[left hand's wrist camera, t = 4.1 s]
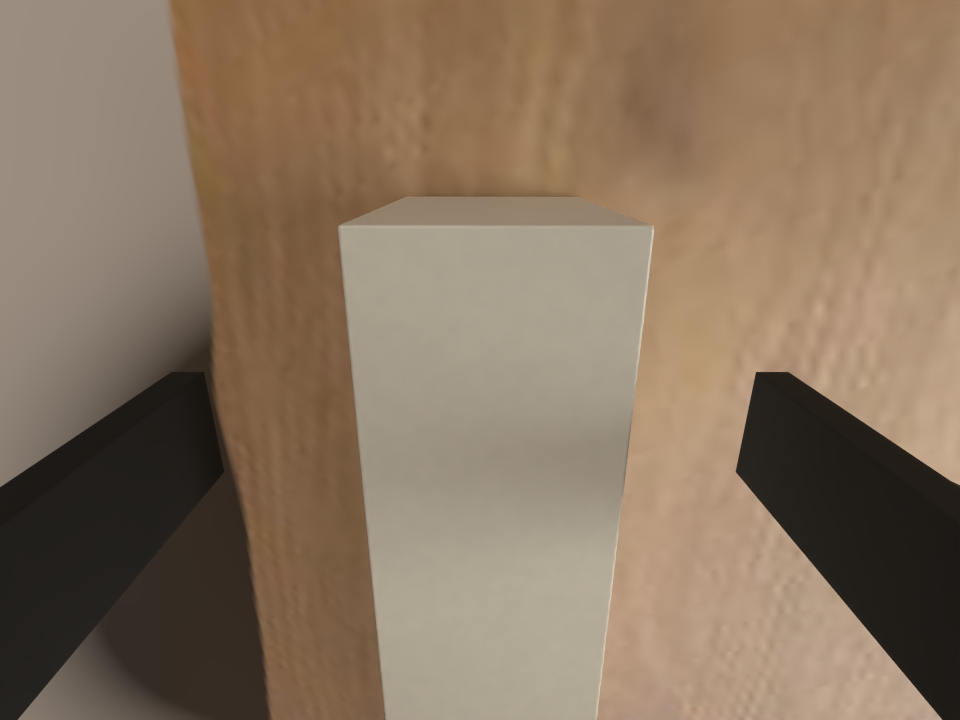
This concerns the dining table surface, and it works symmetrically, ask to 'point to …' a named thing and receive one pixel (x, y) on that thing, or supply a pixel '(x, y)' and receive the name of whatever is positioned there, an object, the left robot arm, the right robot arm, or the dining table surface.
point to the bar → (493, 443)
